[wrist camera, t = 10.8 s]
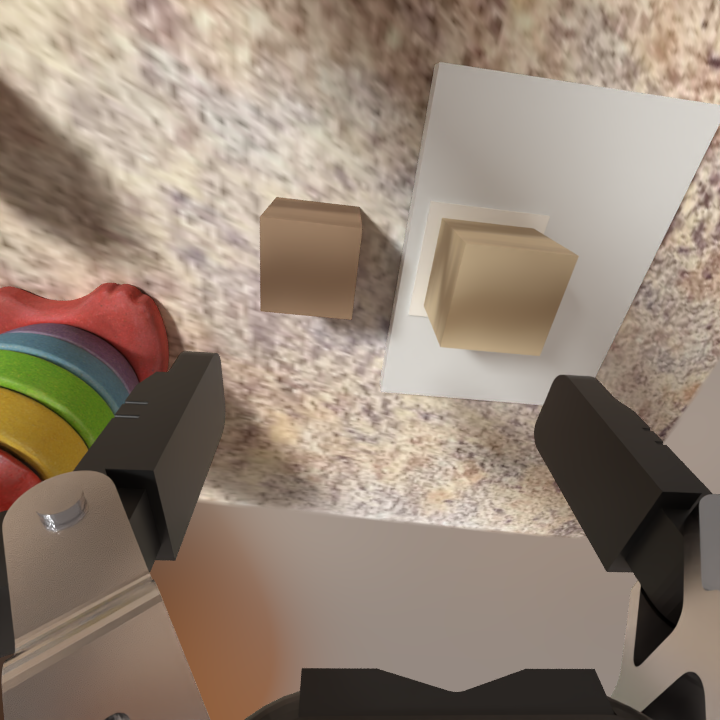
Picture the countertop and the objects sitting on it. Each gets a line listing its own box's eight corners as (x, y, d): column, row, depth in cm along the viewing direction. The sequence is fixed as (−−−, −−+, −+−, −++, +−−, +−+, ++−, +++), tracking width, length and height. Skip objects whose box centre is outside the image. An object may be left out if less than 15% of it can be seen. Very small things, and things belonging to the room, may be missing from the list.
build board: (434, 64, 19) (440, 61, 18) (709, 106, 21) (731, 106, 19) (379, 381, 28) (381, 393, 27) (572, 398, 30) (581, 410, 28)
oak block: (442, 217, 22) (465, 243, 17) (533, 228, 22) (578, 255, 18) (423, 305, 24) (440, 347, 20) (506, 313, 24) (539, 356, 20)
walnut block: (276, 197, 22) (260, 216, 18) (359, 206, 23) (362, 228, 18) (275, 276, 24) (260, 311, 20) (350, 284, 25) (351, 319, 21)
